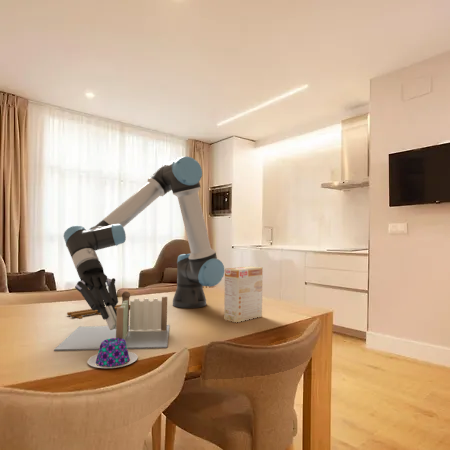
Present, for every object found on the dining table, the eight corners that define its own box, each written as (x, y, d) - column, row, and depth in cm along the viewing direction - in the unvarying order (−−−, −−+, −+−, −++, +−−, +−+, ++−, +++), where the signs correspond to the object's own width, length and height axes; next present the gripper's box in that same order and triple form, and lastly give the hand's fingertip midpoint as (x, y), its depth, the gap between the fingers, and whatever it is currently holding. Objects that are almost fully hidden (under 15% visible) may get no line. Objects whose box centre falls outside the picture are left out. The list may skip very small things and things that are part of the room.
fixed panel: (166, 330, 113) (167, 296, 113) (166, 332, 111) (167, 297, 111) (130, 331, 111) (131, 296, 112) (129, 333, 109) (130, 297, 110)
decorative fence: (64, 316, 132) (74, 321, 125) (64, 311, 132) (75, 315, 125) (123, 307, 150) (135, 311, 143) (123, 302, 150) (135, 306, 143)
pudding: (76, 364, 83) (77, 343, 83) (114, 350, 94) (114, 331, 94) (111, 375, 77) (112, 352, 77) (147, 359, 88) (148, 338, 88)
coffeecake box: (249, 313, 139) (250, 265, 140) (262, 316, 134) (263, 267, 135) (223, 319, 129) (224, 267, 129) (236, 323, 124) (237, 269, 124)
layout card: (169, 326, 118) (169, 324, 118) (167, 347, 96) (167, 346, 96) (79, 327, 114) (79, 326, 114) (54, 350, 92) (54, 349, 92)
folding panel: (121, 331, 108) (122, 298, 109) (127, 330, 109) (128, 298, 109) (115, 346, 93) (116, 308, 94) (122, 346, 94) (123, 308, 94)
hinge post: (129, 331, 112) (130, 290, 112) (128, 333, 109) (129, 292, 109) (121, 331, 111) (122, 290, 112) (120, 333, 109) (121, 292, 109)
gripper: (72, 258, 104) (98, 323, 93) (111, 257, 115) (139, 315, 104) (63, 274, 108) (88, 338, 97) (102, 271, 118) (128, 329, 107)
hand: (114, 326), depth 100 cm, fingers closed
